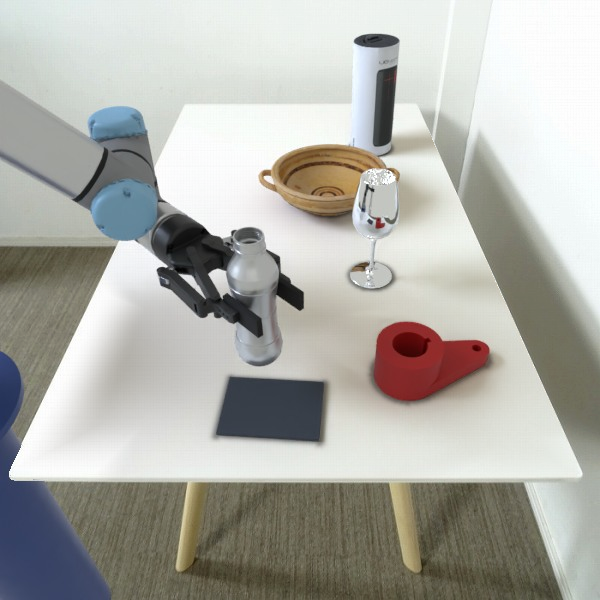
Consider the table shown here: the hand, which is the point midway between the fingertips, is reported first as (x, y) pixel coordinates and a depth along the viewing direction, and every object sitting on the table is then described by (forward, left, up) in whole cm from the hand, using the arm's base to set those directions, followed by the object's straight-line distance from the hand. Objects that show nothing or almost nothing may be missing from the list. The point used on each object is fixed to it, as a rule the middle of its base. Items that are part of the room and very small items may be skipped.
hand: (281, 314), depth 66 cm
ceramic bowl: (+3, +56, -18) cm, 59 cm away
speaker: (+12, +83, -18) cm, 85 cm away
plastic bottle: (-4, +3, -11) cm, 12 cm away
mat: (-2, 0, -18) cm, 18 cm away
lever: (+21, +9, -18) cm, 29 cm away
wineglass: (+12, +31, -18) cm, 38 cm away
